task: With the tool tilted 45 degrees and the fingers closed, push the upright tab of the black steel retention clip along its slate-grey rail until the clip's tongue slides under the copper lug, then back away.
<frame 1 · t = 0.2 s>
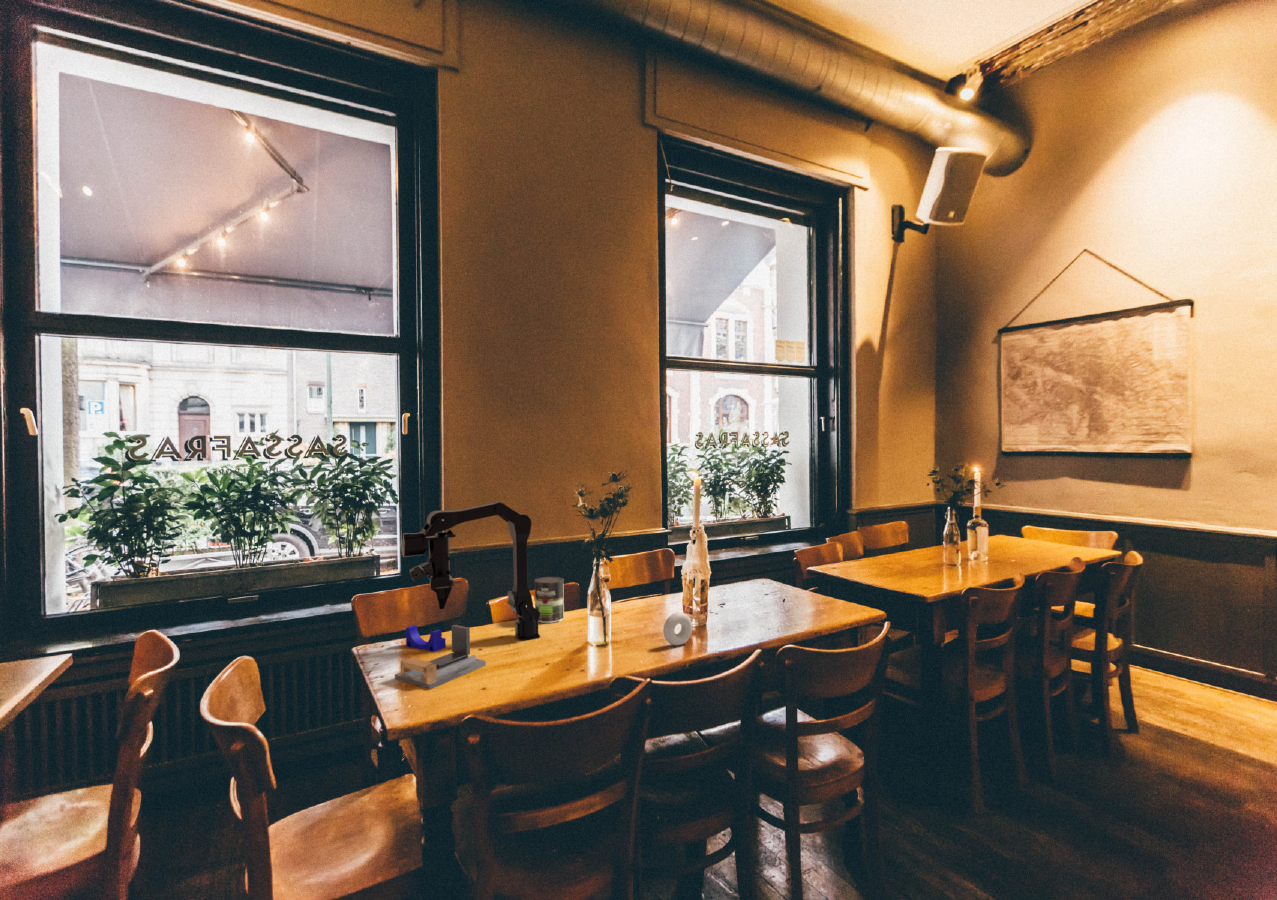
hand: (440, 605, 179), 14 cm above the table, tool pointing down, fingers open, 9 cm apart
rail base: (437, 673, 161), on the table
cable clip: (425, 648, 184), on the table
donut: (678, 645, 181), on the table
clip: (448, 647, 165), point 6 cm above the table, slide at 0.0 cm
coffee can: (549, 619, 211), on the table
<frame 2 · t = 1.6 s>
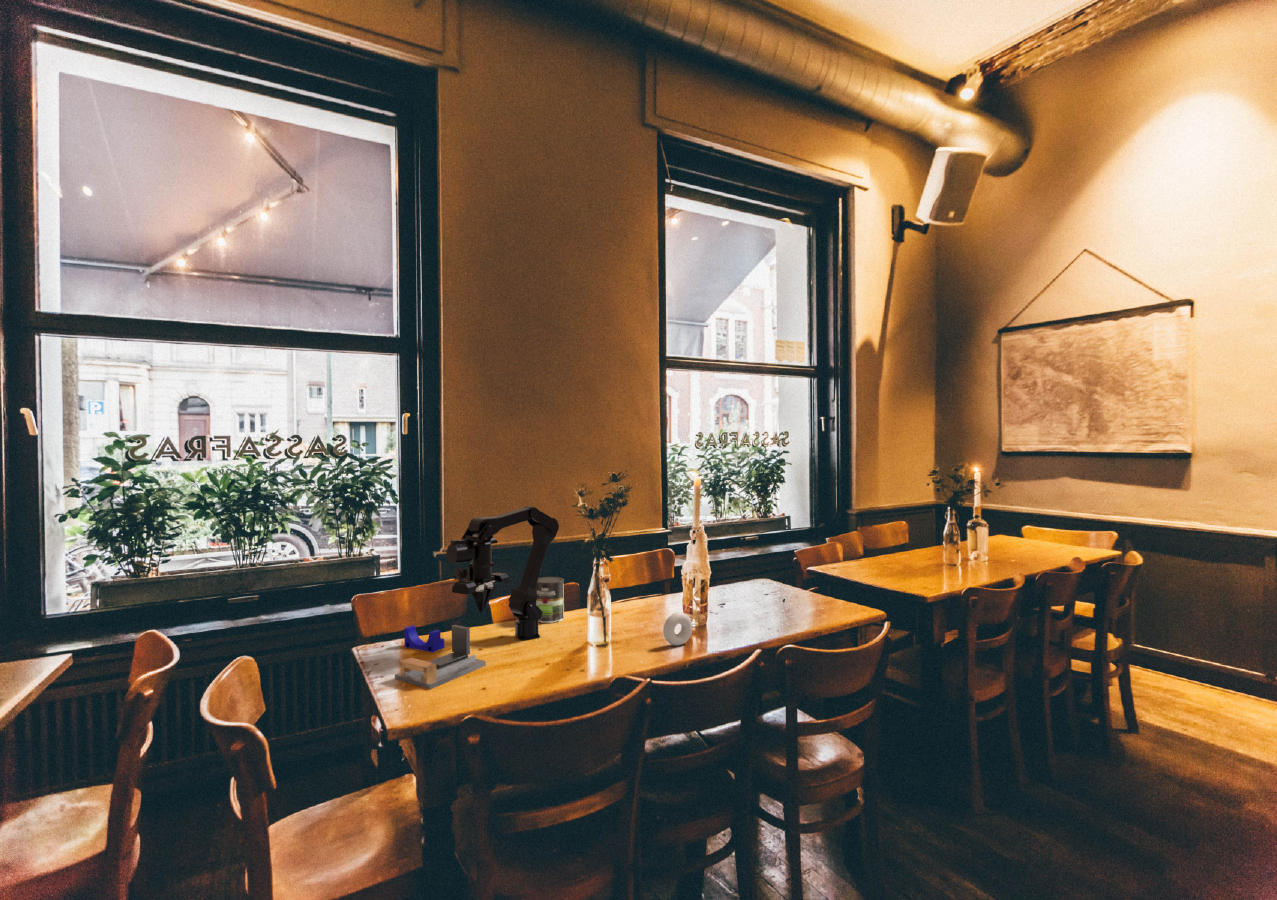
hand: (481, 611, 179), 12 cm above the table, tool pointing down, fingers closed
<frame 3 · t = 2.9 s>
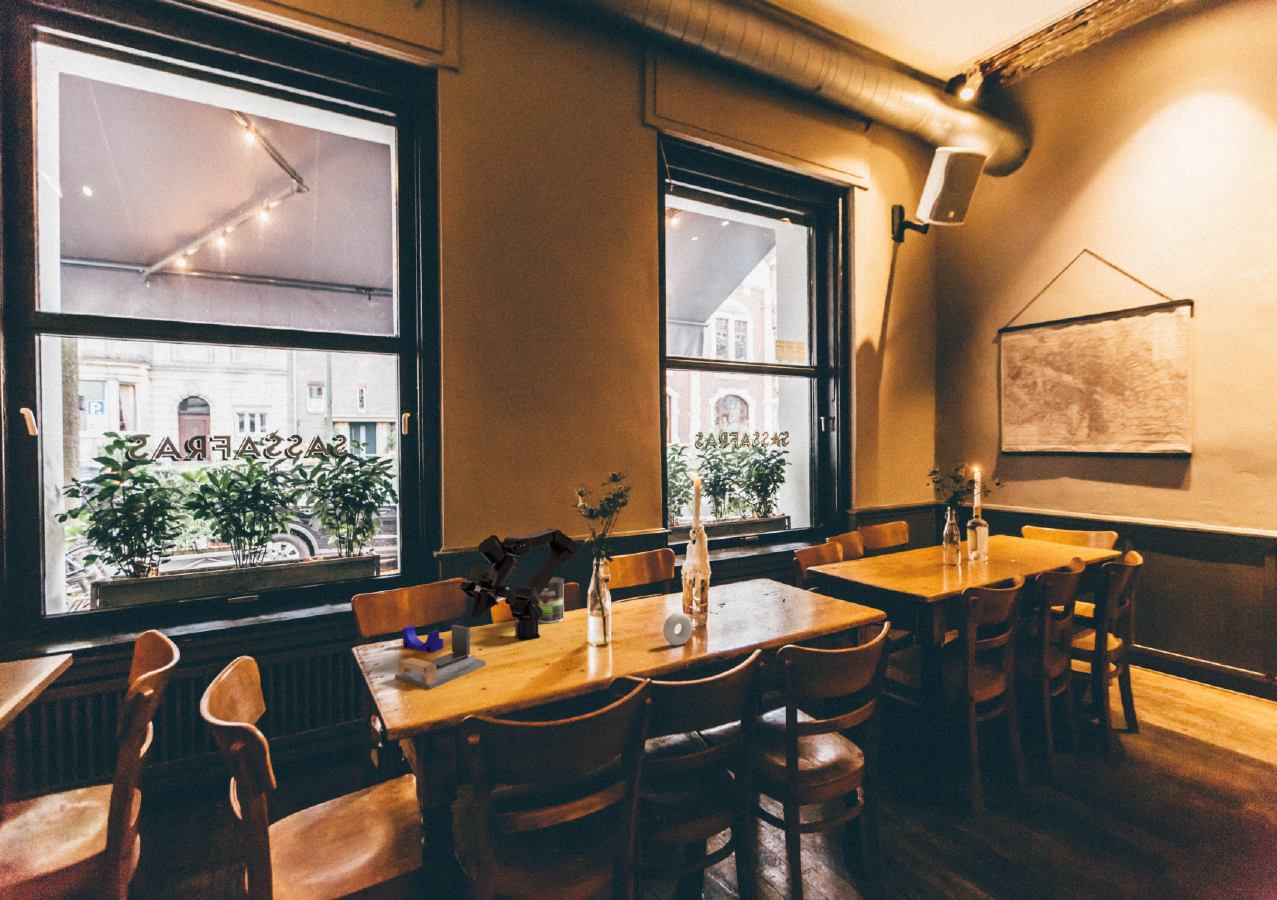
hand: (472, 617, 172), 12 cm above the table, tool tilted 45°, fingers closed
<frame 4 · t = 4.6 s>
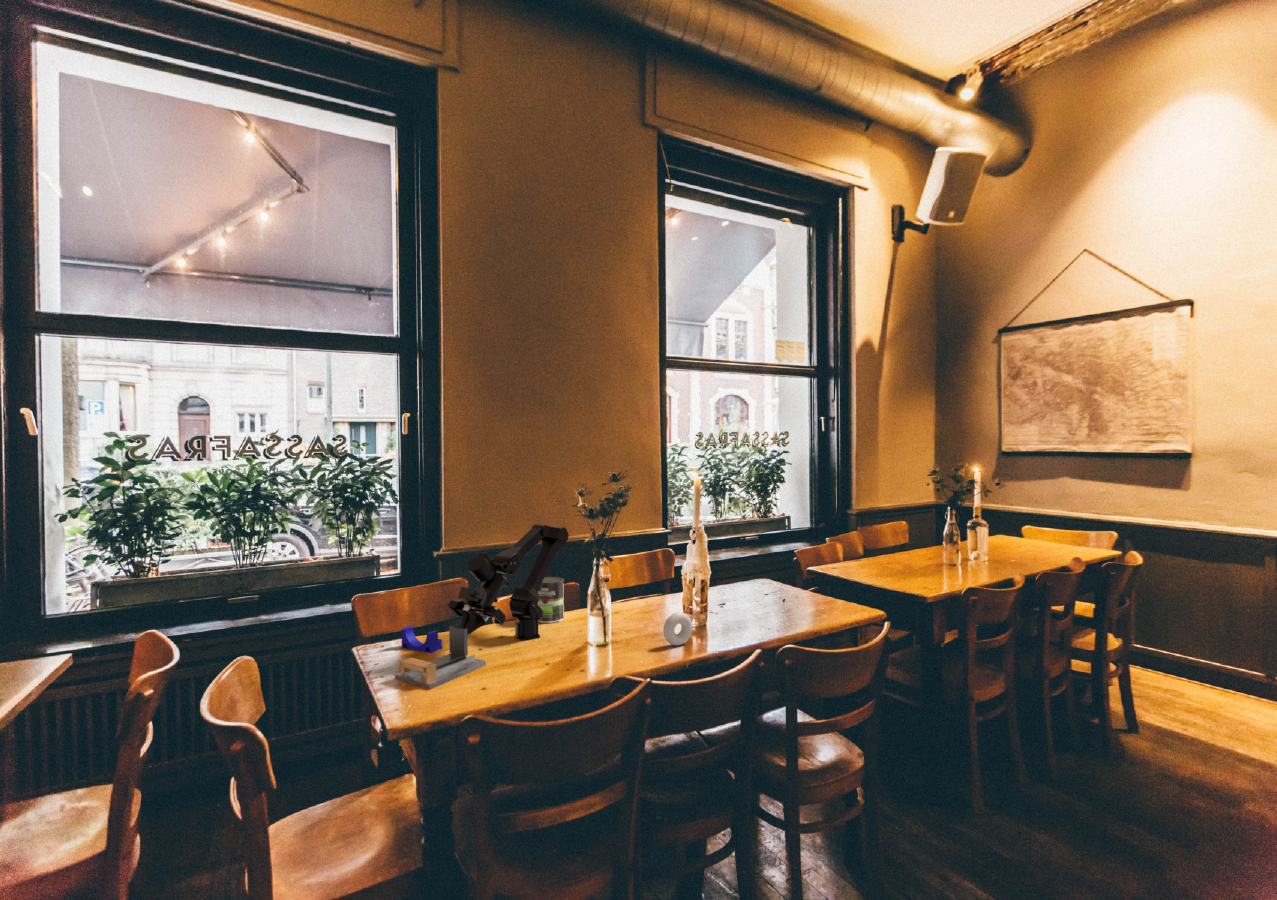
hand: (460, 638, 168), 7 cm above the table, tool tilted 45°, fingers closed, pressing on clip
clip: (446, 648, 164), point 6 cm above the table, slide at 0.8 cm, touching gripper
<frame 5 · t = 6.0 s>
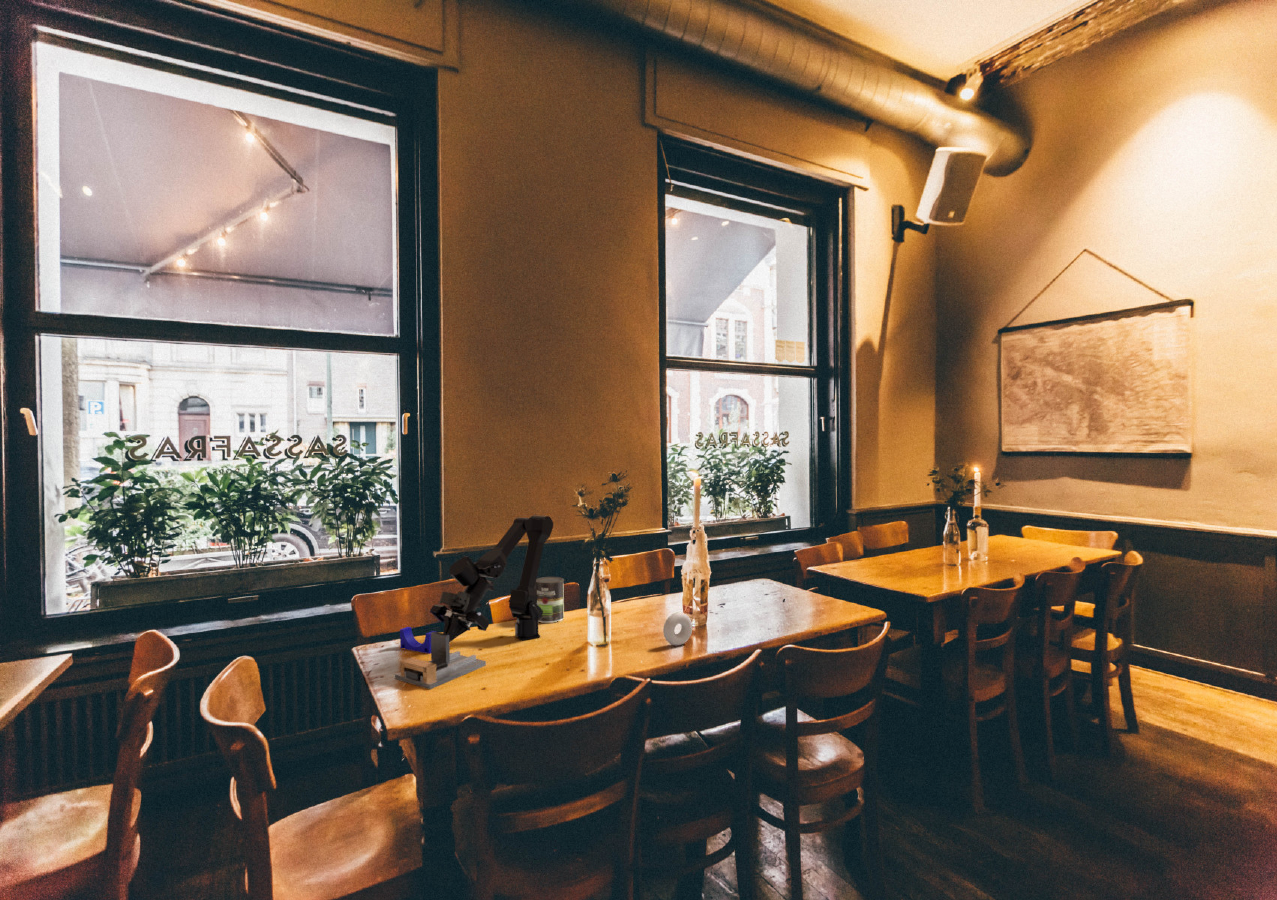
hand: (442, 644, 163), 7 cm above the table, tool tilted 45°, fingers closed, pressing on clip
clip: (426, 655, 158), point 6 cm above the table, slide at 7.2 cm, touching gripper
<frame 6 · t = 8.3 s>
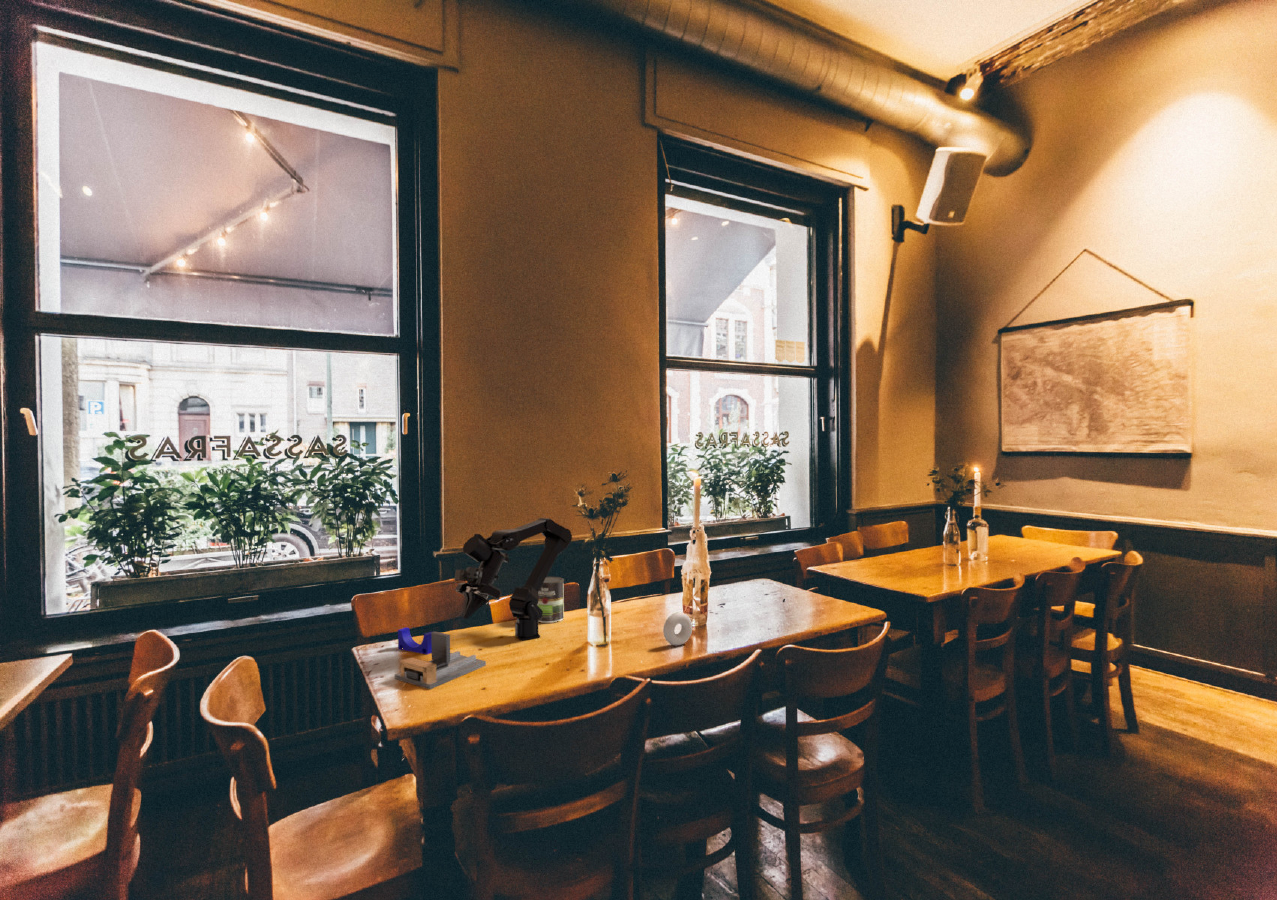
hand: (464, 618, 172), 12 cm above the table, tool tilted 35°, fingers closed
clip: (427, 655, 159), point 6 cm above the table, slide at 7.0 cm
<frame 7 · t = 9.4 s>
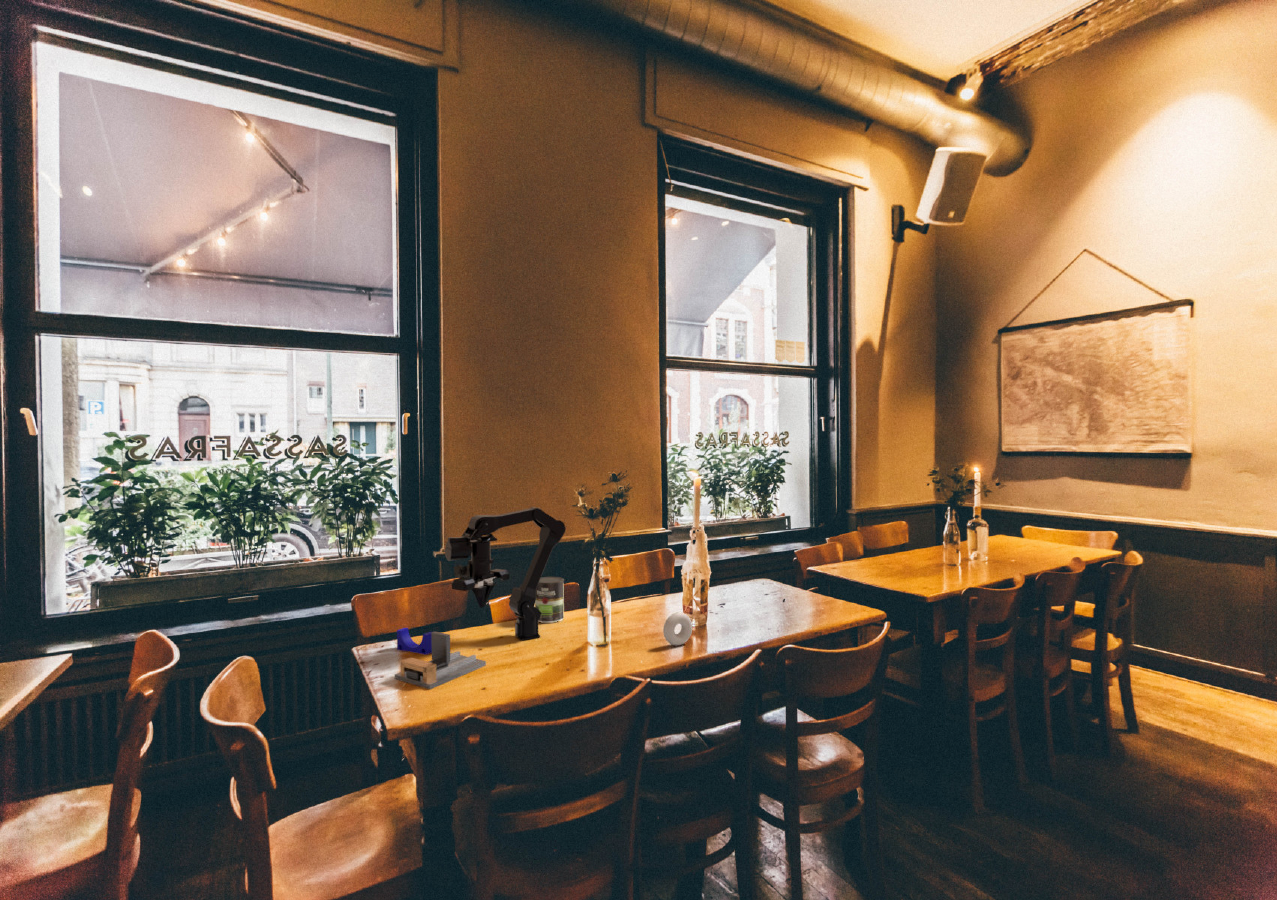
hand: (481, 607, 183), 12 cm above the table, tool pointing down, fingers closed
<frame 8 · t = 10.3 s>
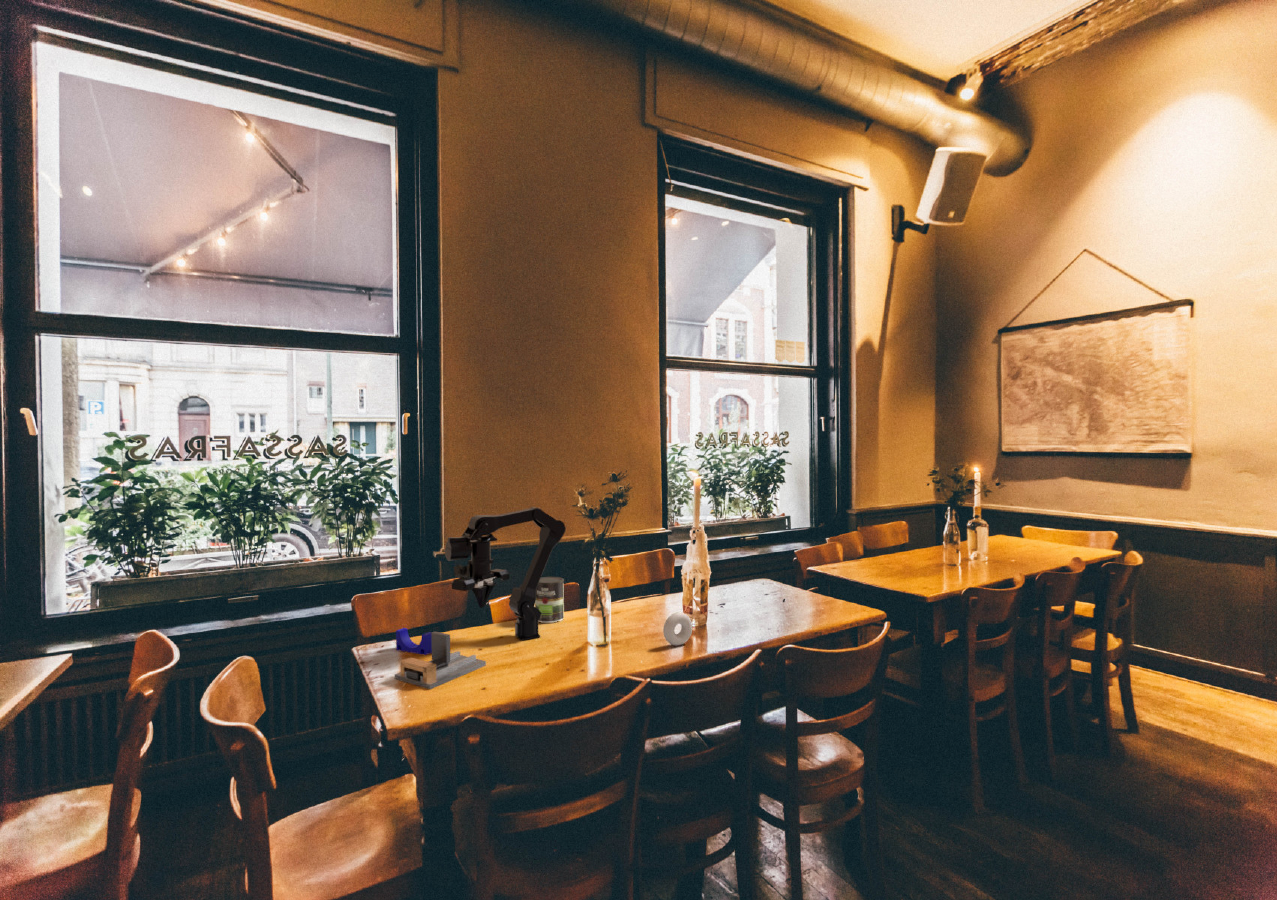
hand: (481, 607, 183), 12 cm above the table, tool pointing down, fingers closed
at the end: clip slide at 7.0 cm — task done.
